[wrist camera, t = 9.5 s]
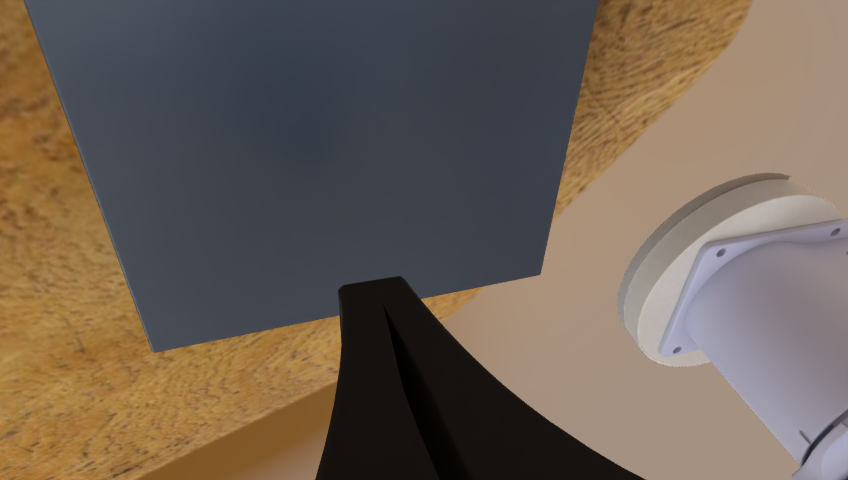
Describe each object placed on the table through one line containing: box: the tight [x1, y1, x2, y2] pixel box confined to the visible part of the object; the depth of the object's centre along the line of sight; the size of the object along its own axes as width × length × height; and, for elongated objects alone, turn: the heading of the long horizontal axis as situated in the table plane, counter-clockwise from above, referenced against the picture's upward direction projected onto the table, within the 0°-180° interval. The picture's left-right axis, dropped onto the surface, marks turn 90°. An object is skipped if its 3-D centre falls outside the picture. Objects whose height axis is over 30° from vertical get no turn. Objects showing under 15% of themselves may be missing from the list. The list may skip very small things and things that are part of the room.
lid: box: [24, 0, 599, 353], centre depth 15 cm, size 12×12×1 cm
